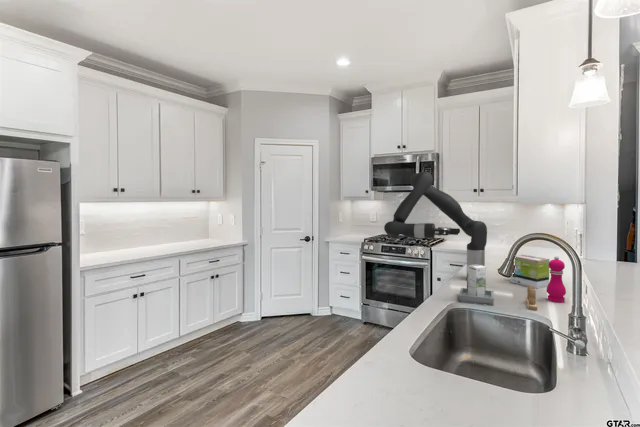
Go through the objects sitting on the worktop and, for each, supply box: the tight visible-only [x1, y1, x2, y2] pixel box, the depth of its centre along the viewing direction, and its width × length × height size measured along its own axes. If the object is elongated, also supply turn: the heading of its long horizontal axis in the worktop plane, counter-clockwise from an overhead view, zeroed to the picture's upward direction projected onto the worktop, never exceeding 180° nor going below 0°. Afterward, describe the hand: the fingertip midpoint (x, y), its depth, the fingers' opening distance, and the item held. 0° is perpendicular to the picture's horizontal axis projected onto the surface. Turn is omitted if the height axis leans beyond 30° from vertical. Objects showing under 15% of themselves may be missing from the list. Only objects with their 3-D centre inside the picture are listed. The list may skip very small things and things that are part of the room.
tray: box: [458, 287, 495, 306], centre depth 160 cm, size 14×14×3 cm
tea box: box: [510, 254, 550, 290], centre depth 185 cm, size 15×10×15 cm, turn 25°
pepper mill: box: [546, 255, 567, 303], centre depth 156 cm, size 7×7×20 cm
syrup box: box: [466, 265, 487, 297], centre depth 160 cm, size 6×6×14 cm
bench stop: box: [525, 285, 538, 311], centre depth 150 cm, size 14×3×8 cm, turn 154°
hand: (459, 231), depth 169 cm, fingers open, 8 cm apart
